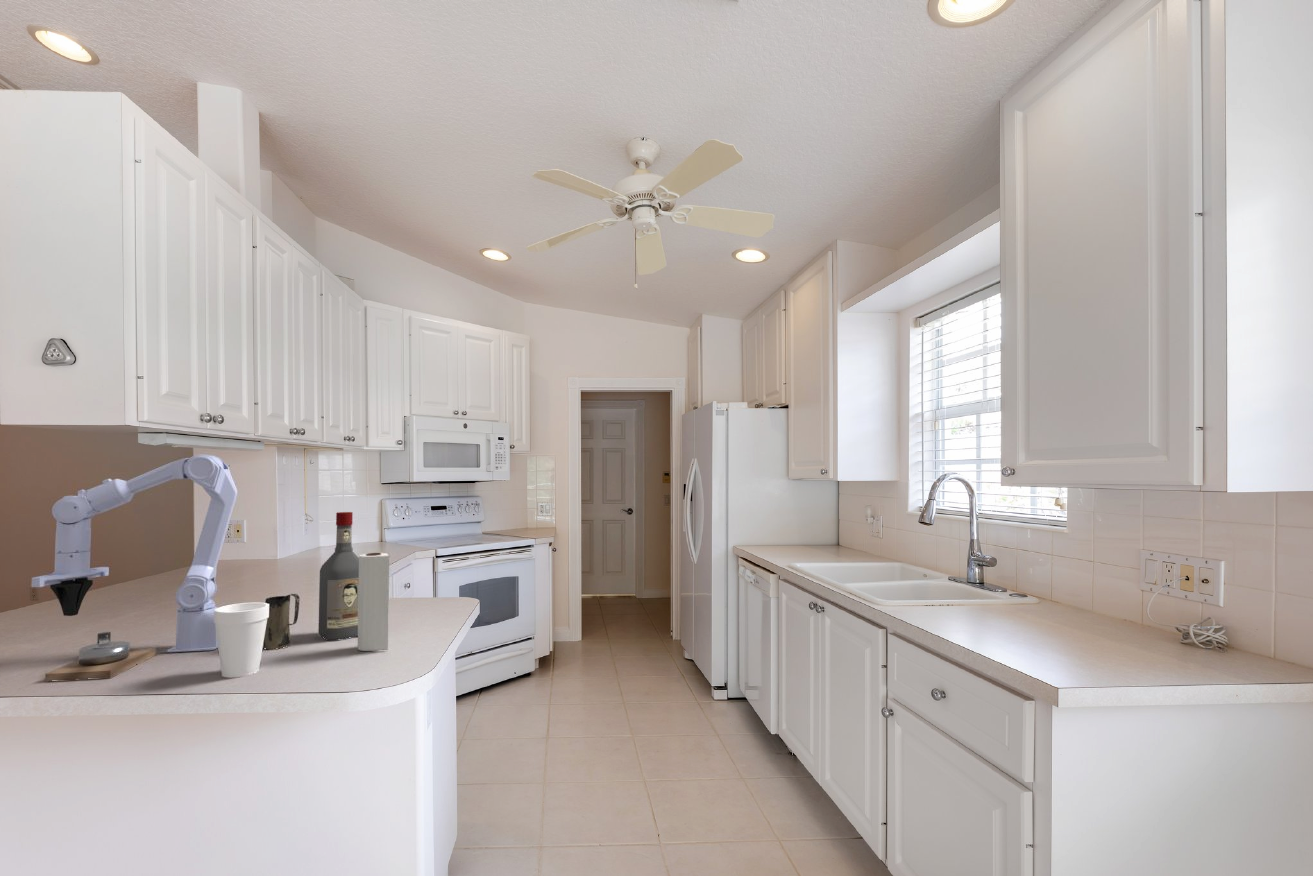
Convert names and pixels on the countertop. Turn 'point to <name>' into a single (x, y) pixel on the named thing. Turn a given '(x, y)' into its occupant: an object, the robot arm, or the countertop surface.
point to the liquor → (340, 586)
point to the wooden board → (100, 667)
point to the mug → (279, 621)
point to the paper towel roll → (373, 602)
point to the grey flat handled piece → (103, 650)
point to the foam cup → (240, 637)
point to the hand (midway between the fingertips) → (70, 615)
